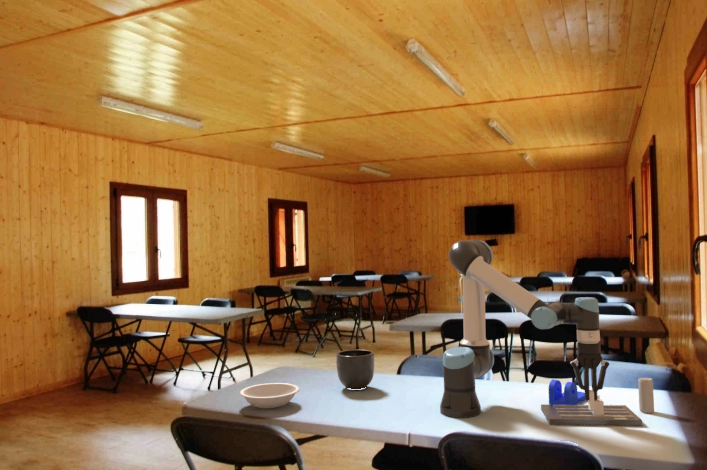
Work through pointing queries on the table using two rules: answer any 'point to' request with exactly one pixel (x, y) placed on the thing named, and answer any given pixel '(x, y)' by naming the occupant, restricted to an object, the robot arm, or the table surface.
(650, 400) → the beverage can
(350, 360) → the planter
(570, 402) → the bracket
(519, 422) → the table surface
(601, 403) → the fader
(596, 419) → the console
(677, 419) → the table surface
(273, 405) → the soup bowl
